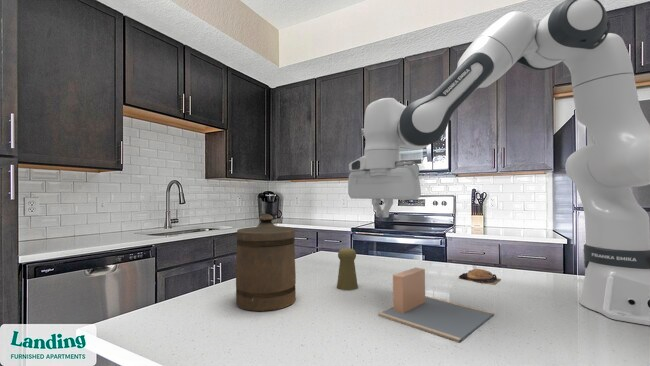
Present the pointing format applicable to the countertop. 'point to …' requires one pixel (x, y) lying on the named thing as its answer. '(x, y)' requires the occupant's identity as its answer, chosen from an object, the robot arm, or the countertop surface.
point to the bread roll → (480, 276)
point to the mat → (441, 318)
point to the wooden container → (265, 266)
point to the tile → (408, 289)
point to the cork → (347, 270)
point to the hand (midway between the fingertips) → (382, 217)
